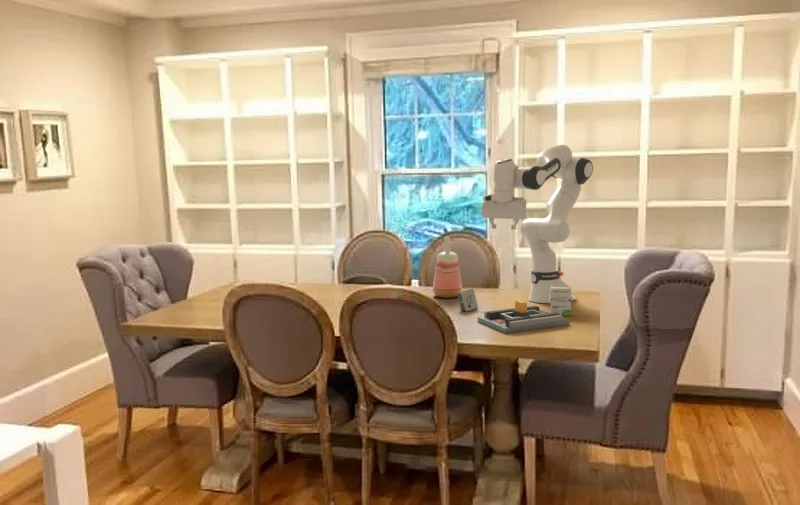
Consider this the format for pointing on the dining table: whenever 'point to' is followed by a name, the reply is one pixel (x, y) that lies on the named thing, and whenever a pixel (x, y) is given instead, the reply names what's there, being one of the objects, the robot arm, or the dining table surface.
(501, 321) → the panel
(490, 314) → the pair of panel rails
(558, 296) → the ink box
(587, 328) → the dining table surface
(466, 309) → the electrical switch
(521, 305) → the lever
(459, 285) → the vase
